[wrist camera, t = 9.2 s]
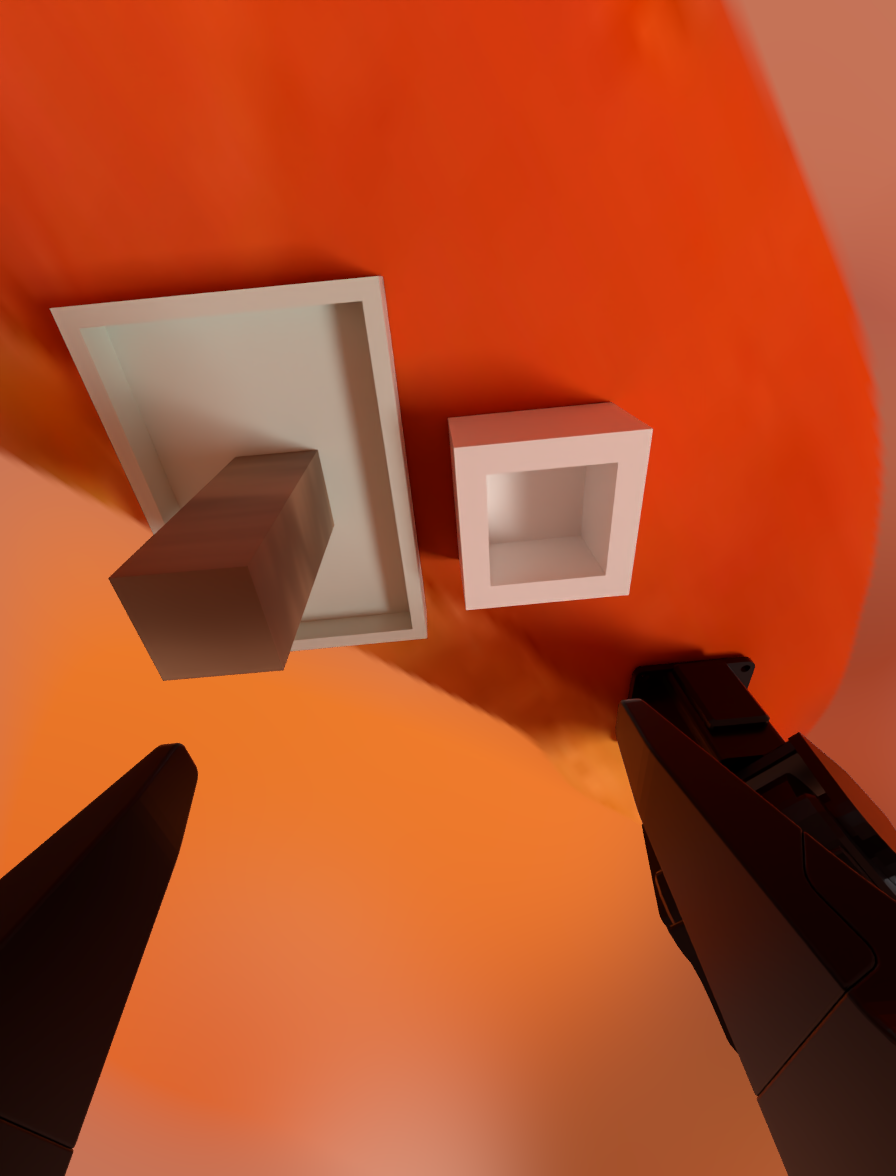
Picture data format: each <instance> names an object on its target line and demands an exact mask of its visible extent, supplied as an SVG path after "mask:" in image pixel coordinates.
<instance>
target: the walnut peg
mask: <svg viewBox="0 0 896 1176" xmlns="http://www.w3.org/2000/svg"><path fill="white" fill-rule="evenodd" d="M333 528H334V521H333V516H332V512H331V507H330V502H329V498H328V493H327V489H326V484H325V480H324V475H323V471H322V466H321V462H320V457H319V452H318V450H309V451H297V452H285V453H274V454H262V455H251V456H239V457H235V458H234V459H233V460H232V461H231V462H229V463H228V464H227V465H226V466H225V467H224V468H223V469H222V470H221V471H220V472H219V473H218V474H217V475H216V476H215V477H214V478H213V479H212V480H211V481H210V482H209V483H208V484H206V485H205V486H204V487H203V488H202V489H201V490H200V491H199V492H198V493H197V494H196V495H195V496H194V497H193V498H192V499H191V500H190V501H189V502H188V503H187V504H186V505H185V506H183V507H182V508H181V509H180V510H179V511H178V512H177V513H176V514H175V515H174V516H173V517H172V518H171V519H170V520H169V521H168V522H167V523H166V524H165V525H164V526H163V527H162V528H160V529H159V530H158V531H157V532H156V533H155V534H154V535H153V536H152V537H151V538H150V539H149V540H148V541H147V542H146V543H145V544H144V545H143V546H142V547H141V548H140V549H139V550H137V551H136V552H135V553H134V555H132V556H131V557H130V558H129V559H128V560H127V561H126V562H125V563H124V564H123V565H122V566H121V567H120V568H119V569H118V570H117V571H115V573H113V574H112V575H111V577H109V580H110V582H111V584H112V586H113V588H114V590H115V592H116V593H117V595H118V597H119V599H120V601H121V603H122V605H123V606H124V608H125V610H126V612H127V614H128V616H129V618H130V620H131V621H132V623H133V625H134V627H135V629H136V631H137V633H138V635H139V636H140V638H141V640H142V642H143V644H144V646H145V648H146V649H147V651H148V653H149V655H150V657H151V659H152V661H153V663H154V665H155V666H156V668H157V670H158V672H159V674H160V676H161V678H162V679H163V681H166V680H177V679H188V678H200V677H211V676H222V675H234V674H246V673H257V672H268V671H280V670H284V667H285V664H286V661H287V659H288V655H289V653H290V650H291V647H292V644H293V641H294V639H295V636H296V633H297V630H298V627H299V624H300V622H301V619H302V616H303V613H304V610H305V607H306V604H307V602H308V599H309V596H310V593H311V590H312V587H313V585H314V582H315V579H316V576H317V573H318V570H319V567H320V565H321V562H322V559H323V556H324V553H325V550H326V547H327V545H328V542H329V539H330V536H331V533H332V530H333Z"/></svg>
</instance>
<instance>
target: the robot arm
mask: <svg viewBox="0 0 896 1176" xmlns="http://www.w3.org/2000/svg"><path fill="white" fill-rule="evenodd" d="M754 668H755V664H754V663H753V662H752V660H751V659H750V658H748V657H735V658H724V659H714V660H703V661H692V662H682V663H671V664H661V665H650V666H641V667H638V668H636V669H635V670H634V671H633V673H632V678H631V684H630V690H629V696H628V699H627V700H622V701H620V703H619V705H618V712H617V721H616V737H617V741H618V745H619V748H620V752H621V755H622V758H623V762H624V765H625V769H626V772H627V776H628V779H629V782H630V786H631V789H632V793H633V796H634V800H635V803H636V806H637V809H638V812H639V815H640V818H641V820H642V823H643V824H642V829H643V834H644V839H645V845H646V849H647V855H648V860H649V865H650V870H651V875H652V880H653V885H654V890H655V895H656V900H657V905H658V910H659V914H660V917H661V919H662V921H663V923H664V924H665V925H666V927H667V929H668V931H669V933H670V934H671V936H672V937H673V939H674V941H675V942H676V944H677V946H678V947H679V948H680V950H681V951H682V952H683V954H684V955H685V957H686V958H687V959H688V960H689V961H690V962H691V964H692V965H693V967H694V969H695V971H696V973H697V974H698V976H699V978H700V980H701V982H702V984H703V986H704V988H705V990H706V992H707V994H708V996H709V998H710V1001H711V1003H712V1005H713V1008H714V1010H715V1012H716V1015H717V1017H718V1019H719V1021H720V1024H721V1026H722V1028H723V1031H724V1033H725V1035H726V1038H727V1040H728V1042H729V1043H730V1045H731V1046H732V1047H733V1048H734V1050H735V1051H736V1052H737V1053H738V1054H739V1057H740V1059H741V1062H742V1064H743V1066H744V1069H745V1071H746V1074H747V1076H748V1078H749V1081H750V1083H751V1086H752V1088H753V1091H754V1093H755V1095H757V1096H758V1097H757V1101H758V1103H759V1106H760V1108H761V1111H762V1113H763V1115H764V1118H765V1120H766V1123H767V1125H768V1127H769V1130H770V1132H771V1135H772V1137H773V1139H774V1142H775V1144H776V1147H777V1149H778V1152H779V1154H780V1156H781V1159H782V1161H783V1164H784V1166H785V1169H786V1171H787V1173H788V1176H896V830H895V828H894V827H893V825H892V824H891V822H890V821H889V819H888V818H887V816H886V815H885V814H884V813H883V812H882V811H881V809H880V808H879V807H878V806H877V805H876V804H875V803H874V802H873V801H872V800H871V798H870V797H869V796H868V795H867V794H866V793H865V792H864V791H863V790H862V789H861V788H860V786H859V785H858V784H857V783H856V782H855V781H854V780H853V779H852V778H851V777H850V775H849V774H848V773H847V772H846V771H845V770H843V769H842V768H841V767H840V766H839V765H838V764H837V763H835V762H834V761H833V760H832V759H830V758H829V757H828V756H827V755H826V754H825V753H823V752H822V751H821V750H820V749H818V747H816V746H815V745H814V744H813V743H812V742H810V741H809V740H808V739H807V738H806V737H805V736H803V735H802V734H801V733H800V732H798V733H797V734H795V735H793V736H791V737H790V738H788V739H789V741H788V742H785V741H784V740H783V739H782V737H781V736H780V735H779V734H778V732H777V731H776V730H775V728H774V727H773V726H772V725H771V723H770V722H769V719H770V718H769V716H768V715H767V714H766V712H765V711H764V710H763V709H762V707H761V706H760V705H759V704H758V702H757V701H756V700H755V699H754V697H753V696H752V695H751V694H750V692H749V691H748V690H747V688H748V685H749V683H750V680H751V677H752V674H753V671H754ZM642 675H644V676H642ZM197 779H198V771H197V767H196V765H195V764H194V762H193V760H192V758H191V757H190V755H189V753H188V752H187V750H186V748H185V747H184V745H182V744H180V743H174V744H164V745H160V746H158V747H157V748H155V749H154V750H153V751H152V752H151V753H150V754H148V755H147V756H146V757H145V758H144V759H142V760H141V761H140V762H139V763H138V764H136V765H135V766H134V767H133V768H132V769H130V770H129V771H128V772H127V773H126V774H125V775H123V776H122V777H121V778H120V779H119V780H117V781H116V782H115V783H114V784H113V785H111V786H110V787H109V788H108V789H107V790H106V791H104V792H103V793H102V794H101V795H100V796H98V797H97V798H96V799H95V800H94V801H93V802H91V803H90V804H89V805H88V806H87V807H85V808H84V809H83V810H82V811H81V812H79V813H78V814H77V815H76V816H75V817H74V818H72V819H71V820H70V821H69V822H68V823H66V824H65V825H64V826H63V827H62V828H60V829H59V830H58V831H57V832H56V833H55V834H53V835H52V836H51V837H50V838H49V839H48V840H46V841H45V842H44V843H43V844H41V845H40V846H39V847H38V848H37V849H36V850H34V851H33V852H32V853H31V854H30V855H28V856H27V857H26V858H25V859H24V860H22V861H21V862H20V863H19V864H18V865H17V866H16V867H14V868H13V869H12V870H11V871H9V872H8V873H7V874H6V875H5V876H3V877H2V878H1V879H0V1176H65V1174H66V1170H67V1168H68V1165H69V1162H70V1160H71V1157H72V1154H73V1149H72V1148H74V1146H75V1144H76V1142H77V1139H78V1136H79V1133H80V1130H81V1127H82V1124H83V1122H84V1119H85V1116H86V1114H87V1111H88V1108H89V1105H90V1102H91V1100H92V1097H93V1094H94V1091H95V1088H96V1085H97V1083H98V1080H99V1077H100V1074H101V1072H102V1069H103V1066H104V1063H105V1060H106V1057H107V1055H108V1052H109V1049H110V1046H111V1043H112V1041H113V1038H114V1035H115V1032H116V1029H117V1026H118V1024H119V1021H120V1018H121V1015H122V1013H123V1010H124V1007H125V1004H126V1001H127V998H128V995H129V993H130V990H131V987H132V984H133V981H134V979H135V976H136V973H137V970H138V967H139V964H140V962H141V959H142V956H143V954H144V950H145V948H146V945H147V942H148V939H149V937H150V934H151V931H152V928H153V925H154V923H155V919H156V917H157V914H158V911H159V909H160V906H161V903H162V900H163V897H164V895H165V892H166V889H167V886H168V883H169V880H170V878H171V875H172V872H173V869H174V866H175V863H176V860H177V857H178V854H179V851H180V847H181V844H182V840H183V836H184V832H185V828H186V824H187V820H188V816H189V812H190V808H191V804H192V800H193V796H194V792H195V788H196V783H197Z"/></svg>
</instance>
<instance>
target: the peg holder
mask: <svg viewBox="0 0 896 1176" xmlns="http://www.w3.org/2000/svg"><path fill="white" fill-rule="evenodd" d="M448 427H449V439H450V452H451V464H452V477H453V489H454V502H455V514H456V527H457V539H458V552H459V562H460V570H461V577H462V584H463V591H464V599H465V606H466V610H474V609H484V608H495V607H505V606H516V605H526V604H537V603H547V602H558V601H568V600H578V599H589V598H599V597H610V596H620V595H629V590H630V583H631V576H632V569H633V562H634V555H635V548H636V542H637V535H638V528H639V521H640V514H641V507H642V500H643V493H644V487H645V480H646V473H647V466H648V459H649V452H650V445H651V439H652V432H653V428H651V427H650V426H648V425H646V424H645V423H643V422H642V421H640V420H639V419H637V418H635V417H634V416H632V415H631V414H629V413H628V412H626V411H625V410H623V409H621V408H620V407H618V406H617V405H615V404H614V403H612V402H606V403H596V404H585V405H575V406H565V407H554V408H544V409H534V410H523V411H513V412H503V413H492V414H482V415H472V416H462V417H451V418H448Z"/></svg>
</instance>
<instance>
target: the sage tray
mask: <svg viewBox="0 0 896 1176" xmlns="http://www.w3.org/2000/svg"><path fill="white" fill-rule="evenodd" d="M49 309H50V311H51V313H52V315H53V317H54V319H55V322H56V324H57V326H58V328H59V330H60V333H61V335H62V337H63V339H64V341H65V343H66V346H67V348H68V350H69V352H70V354H71V356H72V359H73V361H74V363H75V365H76V367H77V369H78V372H79V374H80V376H81V378H82V380H83V382H84V385H85V387H86V389H87V391H88V393H89V395H90V398H91V400H92V402H93V404H94V406H95V409H96V411H97V413H98V415H99V417H100V419H101V422H102V424H103V426H104V428H105V430H106V432H107V435H108V437H109V439H110V441H111V443H112V445H113V448H114V450H115V452H116V454H117V456H118V458H119V461H120V463H121V465H122V467H123V469H124V471H125V474H126V476H127V478H128V480H129V482H130V485H131V487H132V489H133V491H134V493H135V495H136V498H137V500H138V502H139V504H140V506H141V508H142V511H143V513H144V515H145V517H146V519H147V521H148V524H149V526H150V528H151V530H152V532H153V534H155V533H156V532H157V531H158V530H159V529H160V528H162V527H163V526H164V525H165V524H166V523H167V522H168V521H169V520H170V519H171V518H172V517H173V516H174V515H175V514H176V513H177V512H178V511H179V510H180V509H181V508H182V507H183V506H185V505H186V504H187V503H188V502H189V501H190V500H191V499H192V498H193V497H194V496H195V495H196V494H197V493H198V492H199V491H200V490H201V489H202V488H203V487H204V486H205V485H206V484H208V483H209V482H210V481H211V480H212V479H213V478H214V477H215V476H216V475H217V474H218V473H219V472H220V471H221V470H222V469H223V468H224V467H225V466H226V465H227V464H228V463H229V462H231V461H232V460H233V459H234V458H235V457H239V456H251V455H262V454H274V453H285V452H297V451H309V450H318V452H319V457H320V462H321V466H322V471H323V475H324V480H325V484H326V489H327V493H328V498H329V502H330V507H331V512H332V516H333V521H334V528H333V530H332V533H331V536H330V539H329V542H328V545H327V547H326V550H325V553H324V556H323V559H322V562H321V565H320V567H319V570H318V573H317V576H316V579H315V582H314V585H313V587H312V590H311V593H310V596H309V599H308V602H307V604H306V607H305V610H304V613H303V616H302V619H301V622H300V624H299V627H298V630H297V633H296V636H295V639H294V641H293V644H292V647H291V650H290V651H300V650H310V649H320V648H331V647H341V646H352V645H363V644H373V643H384V642H394V641H405V640H415V639H426V638H427V610H426V603H425V595H424V587H423V580H422V572H421V564H420V557H419V549H418V542H417V534H416V526H415V519H414V511H413V503H412V496H411V488H410V481H409V473H408V465H407V458H406V450H405V442H404V435H403V427H402V419H401V412H400V404H399V397H398V389H397V381H396V374H395V366H394V358H393V351H392V343H391V336H390V328H389V320H388V313H387V305H386V297H385V290H384V282H383V276H372V277H362V278H352V279H342V280H332V281H321V282H311V283H301V284H291V285H281V286H271V287H260V288H250V289H240V290H230V291H220V292H210V293H199V294H189V295H179V296H169V297H159V298H148V299H138V300H128V301H118V302H108V303H98V304H87V305H77V306H67V307H57V308H49Z"/></svg>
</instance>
